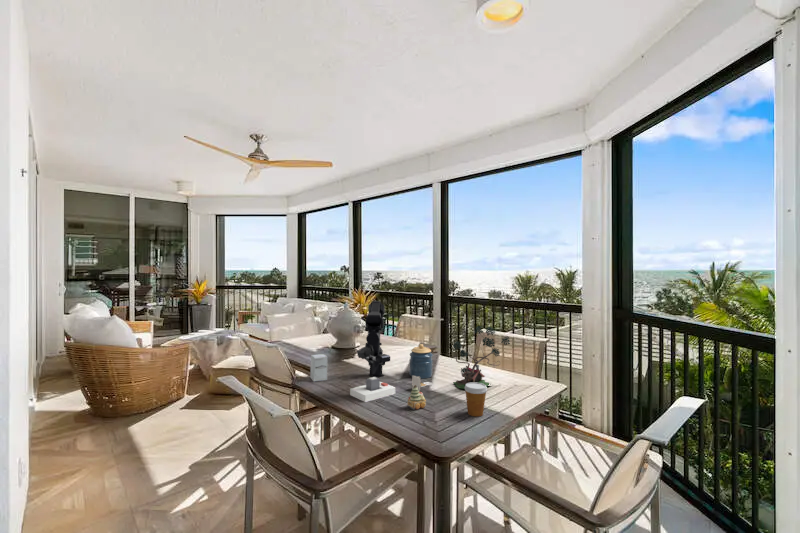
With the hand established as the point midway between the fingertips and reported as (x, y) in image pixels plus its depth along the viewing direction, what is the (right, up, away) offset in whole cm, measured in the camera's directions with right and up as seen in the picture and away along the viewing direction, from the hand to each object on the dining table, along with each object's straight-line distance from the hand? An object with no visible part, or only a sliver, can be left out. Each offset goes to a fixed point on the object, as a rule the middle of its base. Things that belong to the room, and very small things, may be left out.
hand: (373, 373), depth 187 cm
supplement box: (-31, -10, +23) cm, 39 cm away
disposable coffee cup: (+45, -11, -22) cm, 51 cm away
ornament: (+20, -11, -15) cm, 27 cm away
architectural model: (+21, -11, +7) cm, 25 cm away
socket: (0, -10, 0) cm, 10 cm away
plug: (0, -10, 0) cm, 10 cm away
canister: (+24, -10, +33) cm, 42 cm away
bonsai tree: (+55, -11, +15) cm, 58 cm away
